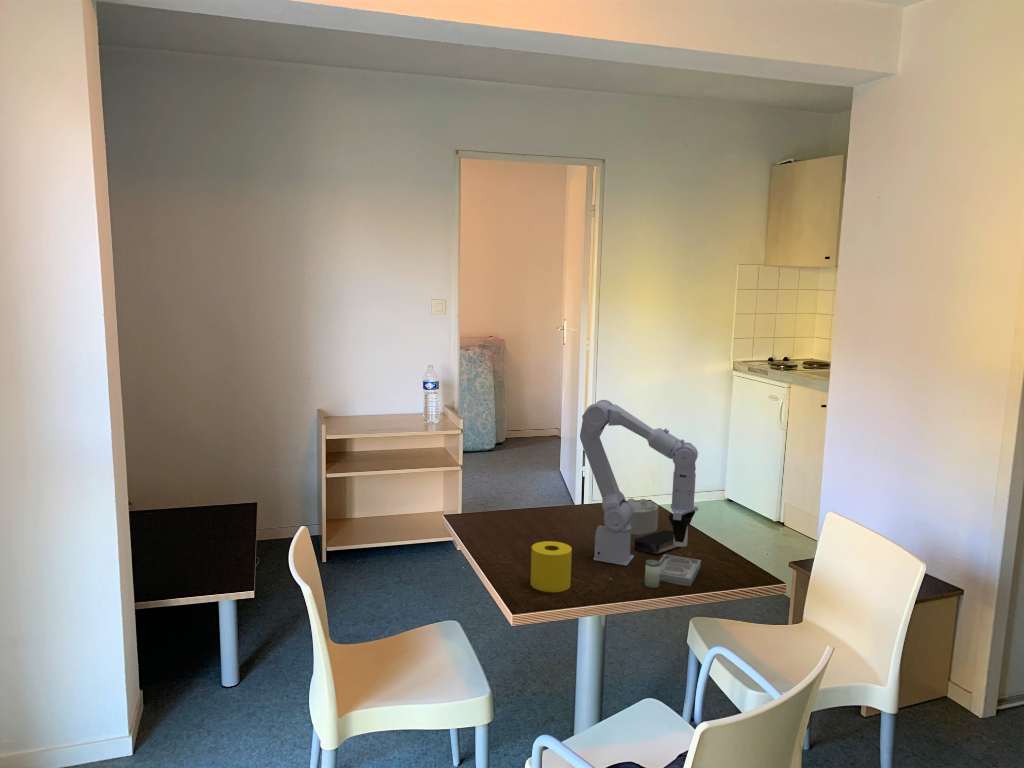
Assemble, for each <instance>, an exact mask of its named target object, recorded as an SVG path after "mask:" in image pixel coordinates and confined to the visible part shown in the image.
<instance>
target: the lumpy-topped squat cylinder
mask: <svg viewBox="0 0 1024 768" xmlns="http://www.w3.org/2000/svg"><path fill="white" fill-rule="evenodd" d="M626 501H627V502H628V503H629V504H630V505H631V506H632V509H633V516H632V518H631V519H630V520H629V523H630V526H631V535H635V536H636V535H637V536H642V535H649V534H652V533H655V532H657V531H658V527H659V525H658V524H659V523H658V521H659V508H660V507H659V505H658V504H657V503H656V502H654V501H652V500H648V499H645V498H641V499H639V500H637V499H636V500H635V499H634V498H628V499H626Z"/></svg>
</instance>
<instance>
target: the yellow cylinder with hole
mask: <svg viewBox="0 0 1024 768" xmlns="http://www.w3.org/2000/svg"><path fill="white" fill-rule="evenodd" d="M572 550H573V549H572V547H571V546H570V545H569V544H567V543H564V542H561V541H560V542H559V541H551V540H550V541H539V542H535V543H534V544H533V545H531V551H530V552H531V555H530V556H531V557H530V584H529V585H530V586H531V587H532V588H533V589H535V590H537V591H541V592H546V593H560V592H565V591H567V590H569V589H570V588H571V584H572V583H571V580H572V579H571V578H572V577H571V576H572V557H573V556H572V554H573V553H572V552H573V551H572Z"/></svg>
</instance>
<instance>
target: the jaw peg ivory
mask: <svg viewBox="0 0 1024 768" xmlns="http://www.w3.org/2000/svg"><path fill="white" fill-rule="evenodd" d="M688 533H689V530H688V526H687V529H686V534H685V538H684V541H683V542H676V541H675V538H674V540H673V544H674V545H675V546H678V547H680V548H681V547H682V548H684V547H685V548H686V547H688V537H689V536H688Z"/></svg>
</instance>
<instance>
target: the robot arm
mask: <svg viewBox="0 0 1024 768" xmlns="http://www.w3.org/2000/svg"><path fill="white" fill-rule="evenodd" d="M581 418H582V421H581V427H580V433H579V439H580V442H581V444H582V448H583V449H584V453H585V455H586V458H587V460H588V463H589V466H590V470H591V471H592V475H593V477H594V480H595V482H596V485H597V487H598V490H599V493H600V496H601V498H602V500H601V505H602V506H601V508H602V510H603V511H602V512H603V523H604V525H601V524H600V525H598V526H597V527H596V531H595V536H594V554H593V555H594V557H593V561H597V562H602V563H603V562H604V563H609V564H615V565H618V566H619V565H621V566H628V565H629V564H630V562H631V561H632V560H633V559H634V558H635V555H633V554H631V541H632V539H631V538H632V534H631V526H630V523H629V520H630V519H631V518H632V516H633V509H632V506H631V505H630V504H629V503H628V502H627V499H626V497H625V495H624V493H622V491H620V487H619V486H618V485H619V484H618V482H617V480H616V478H615V477H616V476H615V475H614V471H613V470H612V466H611V464H610V461H609V459H608V456H607V454H606V453H607V452H606V451H605V448H604V445H603V442H602V439H601V435H602V433H603V431H604V430H605V428H606V426H608V427H609V426H611V427H612V426H622V427H623V428H626V429H627V430H629V431H631V432H633V433H634V434H636V435H638V436H640V437H642V438H643V439H645V440H647V443H648V446H649V447H650V448H651V449H653V450H654V451H657V453H660V454H661V455H663V456H664V457H666V458H668V459H670V460H672V462H673V464H674V471H673V478H672V494H671V495H672V496H671V504H670V509H671V511H672V513H670V514H669V515H668V519H669V521H670V524H671V526H672V531H673V532H674V538H675V541H676V542H683V541H684V538H685V534H686V529H687V526H688V531H689V529H690V525H691V522H692V520H693V518H694V516H695V514H696V512H697V511H699V506H695V493H696V492H695V491H696V490H695V489H696V479H697V477H696V470H697V468H696V467H697V466H696V461H697V459H698V457H699V452H698V450H697V447H696V446H694V445H693V444H692V443H691V442H686V440H685V439H682V438H681V439H679V438H678V437H676V436H674V435H673V434H671V433H669V432H670V430H669V429H667V428H664V429H663V428H659V427H658V428H655V429H654V428H652V427H651V426H649V425H648V424H646V423H644V422H643V421H642V420H640V419H639V418H638V417H637V416H634V415H633V414H631V413H630V412H628V411H626V410H625V409H624V408H623V407H621V406H619V405H617V404H616V403H615V404H614V403H612V401H610V400H607V399H600V400H597V402H595V403H592V404H591V405H589V406H588V407H587V408H586V410H585V411H584V413H583V414H582V416H581Z"/></svg>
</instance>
